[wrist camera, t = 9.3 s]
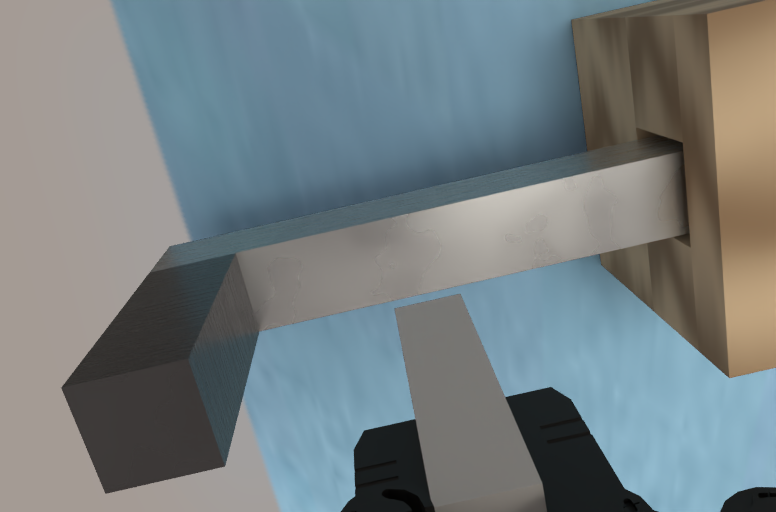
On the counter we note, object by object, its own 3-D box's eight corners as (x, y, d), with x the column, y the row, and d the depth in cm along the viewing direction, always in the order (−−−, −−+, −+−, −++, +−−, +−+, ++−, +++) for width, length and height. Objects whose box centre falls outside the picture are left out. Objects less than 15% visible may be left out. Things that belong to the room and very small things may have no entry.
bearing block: (571, 19, 31) (706, 13, 20) (744, -20, 31) (979, -49, 20) (601, 264, 35) (729, 378, 24) (755, 229, 35) (957, 326, 24)
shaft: (169, 246, 26) (61, 387, 16) (807, 101, 26) (1115, 147, 16) (193, 316, 27) (105, 493, 17) (808, 176, 27) (1100, 266, 17)
